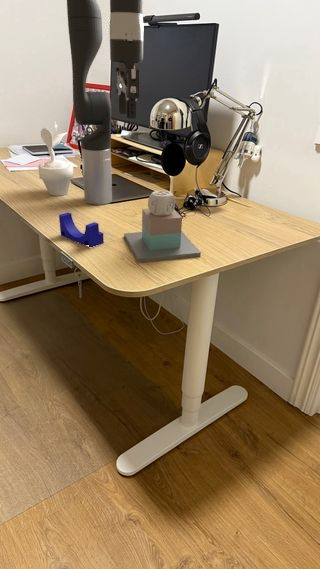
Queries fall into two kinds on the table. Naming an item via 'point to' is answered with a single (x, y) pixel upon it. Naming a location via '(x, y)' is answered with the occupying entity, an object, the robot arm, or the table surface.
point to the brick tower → (160, 239)
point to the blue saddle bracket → (71, 232)
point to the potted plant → (55, 167)
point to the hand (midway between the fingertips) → (127, 115)
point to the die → (161, 203)
